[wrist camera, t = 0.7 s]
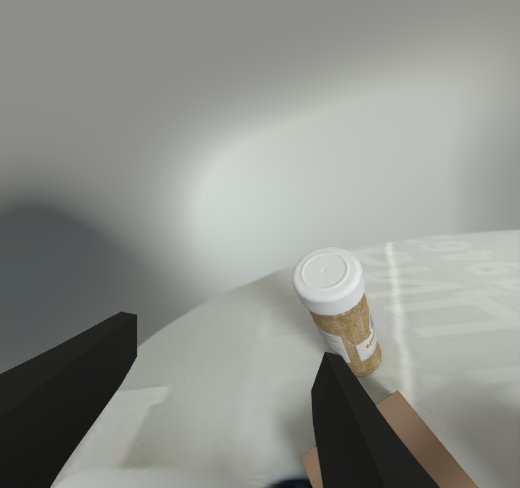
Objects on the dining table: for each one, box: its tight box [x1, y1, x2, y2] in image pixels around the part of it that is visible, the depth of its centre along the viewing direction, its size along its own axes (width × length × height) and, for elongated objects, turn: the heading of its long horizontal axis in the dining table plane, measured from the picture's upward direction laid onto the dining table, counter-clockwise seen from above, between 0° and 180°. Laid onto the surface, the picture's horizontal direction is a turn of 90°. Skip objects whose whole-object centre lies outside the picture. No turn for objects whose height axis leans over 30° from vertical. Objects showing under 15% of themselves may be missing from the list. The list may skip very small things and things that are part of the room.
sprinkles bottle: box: [292, 247, 381, 376], centre depth 20 cm, size 5×5×14 cm
